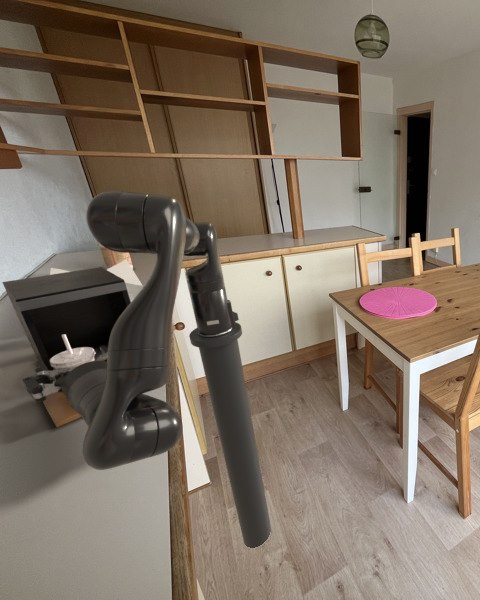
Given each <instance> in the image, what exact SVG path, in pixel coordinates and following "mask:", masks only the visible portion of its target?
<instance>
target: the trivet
mask: <svg viewBox="0 0 480 600" xmlns="http://www.w3.org/2000/svg"><path fill="white" fill-rule="evenodd" d="M46 398H47V399H46V400H45V401H43V402H42V403H43V405H44V407H45V409H46V410H47V413H48V415H49V416H50V418H51V420H52V422H53V424H54V425H55V428H59V427H61V426H63V425H65V424H68V423H70V422H73V421H75V420H78V419H80V418H82V416H81V415H79V414H78V413H77V412H76V411H75V410H74V409H73V408H72V407H71V404H70V402H69V401H68V399H67V398H66V396H65V394H64V393H61V392H58V391H57V392H54V393H51V394H49V395H48V396H46Z"/></svg>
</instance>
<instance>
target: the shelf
mask: <svg viewBox="0 0 480 600" xmlns="http://www.w3.org/2000/svg"><path fill="white" fill-rule="evenodd" d="M2 286H3V287H4V289H5V292H6V294H7V296H8V298H9V301H10V302H11V304H12V307H13V309H14V311H15V313H16V316H17V318H18V320H19V322H20V324H21V326H22V328H23V331H24V333H25V336H26V338H27V340H28V342H29V344H30V346H31V348H32V351H33V353H34V355H35V357H36V360H37V362H38V363H39V365H40V364H43V363H44V364H45V365H46V367H47V368H48V370H49V371H53V370H55V367H52V366H51V363H50V359H51V358H52V357H53V356H55V355H57V354H59V353H61V352H64V351H67V348H66V345H65V343H64V340H63V338H62V335H63V334H66V337H67V339H68V342H69V344H70V347H71V349H74V348H80V347H90V348H93V349H94V347H95V348H96V347H100V346H103V345H106V344H108V343H109V337H110V334H111V331H112V328H113V326H114V324H115V323H116V321H117V319H118V318H119V316H120V315H121V314H122V313H123V311H124V310H125V309H126V308H127V306H128V305H129V304H130V303H131V301H130V298H129V294H128V291H127V288H126V284H125V281H124V280H123V279H122V278H120V277H118V276H116V275H115V274H113V273H111V272H109V271H107V268H106V269H105V268H104V267H102V266H99V267H92V268H86V269H80V270H73V271H71V272H65V273H59V274H52V275H50V274H46V275H40V276H33V277H27V278H21V279H14V280H8V281H2Z"/></svg>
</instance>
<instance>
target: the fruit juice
mask: <svg viewBox="0 0 480 600" xmlns="http://www.w3.org/2000/svg"><path fill="white" fill-rule="evenodd" d="M98 247H99V249H100V252H101V255H102V259H103V262H104V264H105V267H106V270H107V269H109V268H111V267H113V266H115V265H116V264H118V263H120V262H122V261H124V260H127V261H128V263H129V265H130V266H131V268H132V269H133V270H134V266H133V262H132V259H131V255H130V253H121V252H116V251H112V250H109V249H107V248H105V247H104V246H102V245H101V244H100V243H99V242H98Z"/></svg>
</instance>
